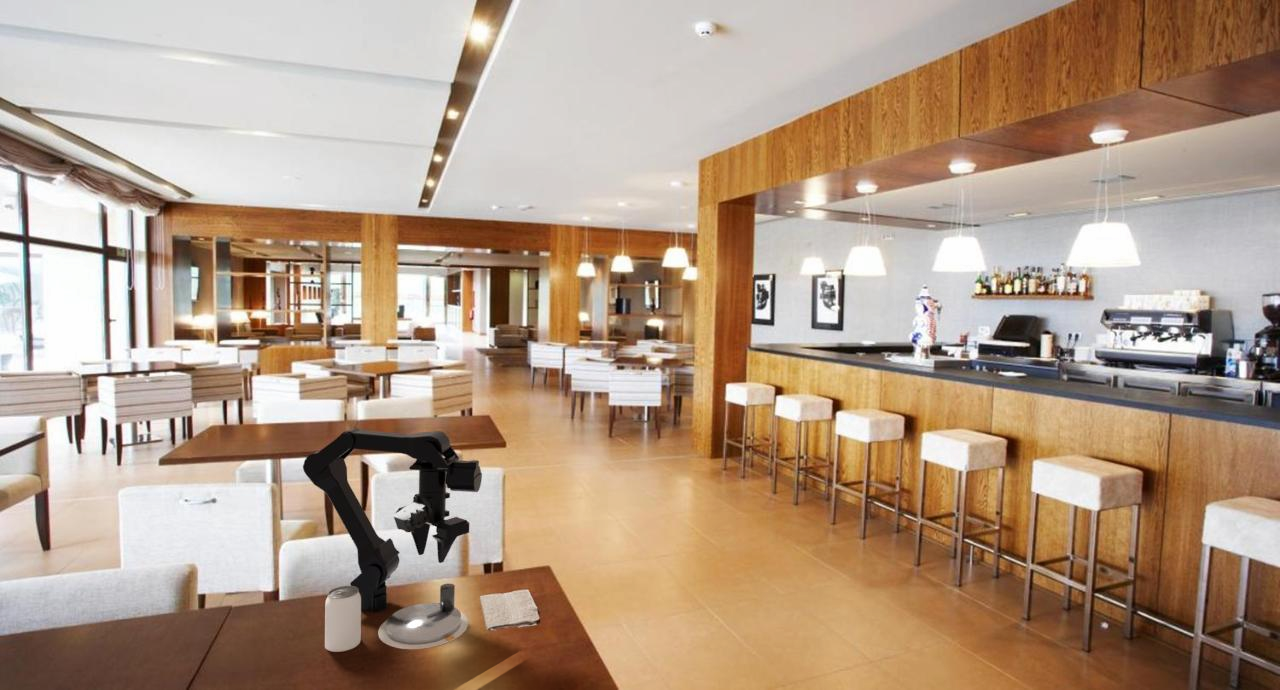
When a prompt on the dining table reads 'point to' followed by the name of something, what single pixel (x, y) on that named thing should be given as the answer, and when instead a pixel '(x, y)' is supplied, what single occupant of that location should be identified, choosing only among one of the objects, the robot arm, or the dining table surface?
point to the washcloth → (509, 610)
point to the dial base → (392, 643)
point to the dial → (426, 620)
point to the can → (342, 619)
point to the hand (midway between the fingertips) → (431, 558)
